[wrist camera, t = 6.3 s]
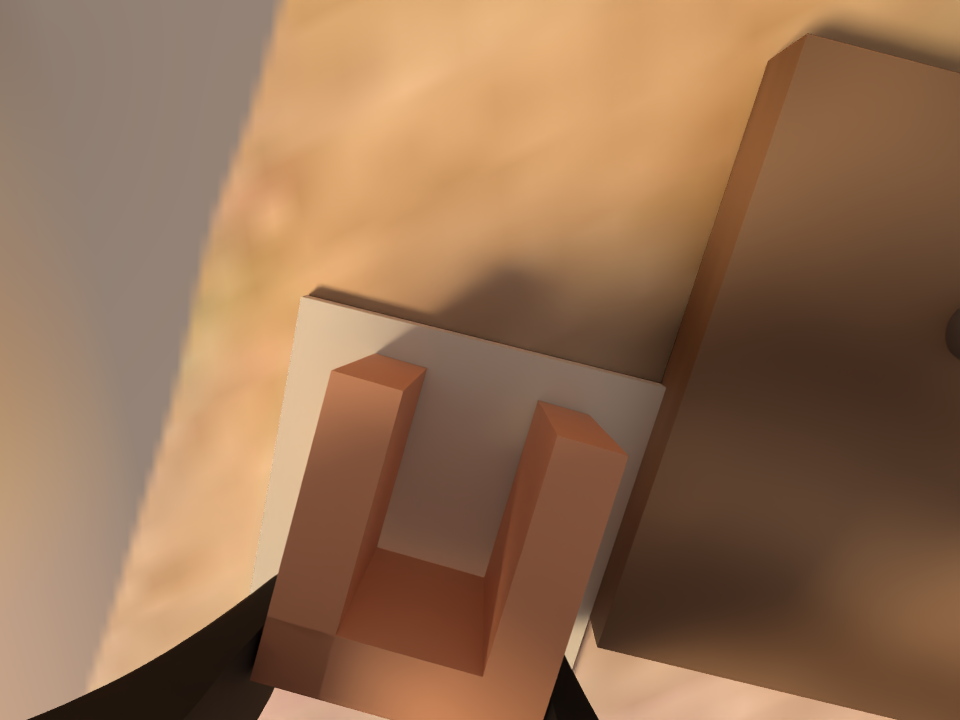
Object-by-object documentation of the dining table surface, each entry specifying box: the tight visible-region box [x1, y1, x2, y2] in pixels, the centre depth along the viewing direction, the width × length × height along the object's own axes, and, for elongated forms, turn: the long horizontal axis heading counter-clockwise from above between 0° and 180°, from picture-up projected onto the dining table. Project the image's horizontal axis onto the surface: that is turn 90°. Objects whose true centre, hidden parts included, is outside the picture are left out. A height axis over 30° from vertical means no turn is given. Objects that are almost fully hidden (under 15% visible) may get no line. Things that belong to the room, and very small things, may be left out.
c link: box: [250, 353, 629, 720], centre depth 11 cm, size 6×5×4 cm
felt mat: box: [249, 295, 666, 669], centre depth 14 cm, size 9×9×1 cm
